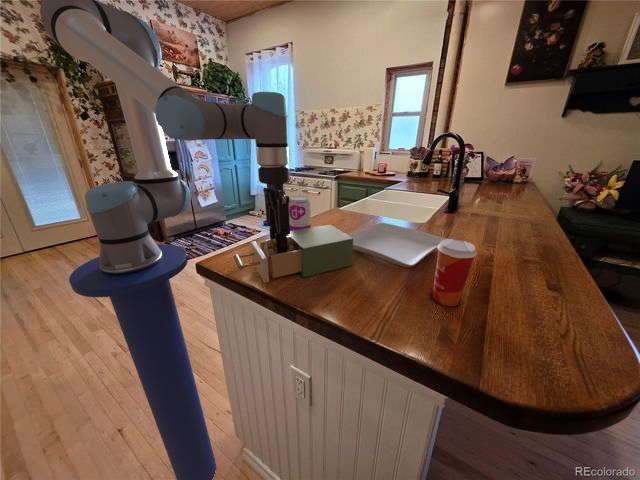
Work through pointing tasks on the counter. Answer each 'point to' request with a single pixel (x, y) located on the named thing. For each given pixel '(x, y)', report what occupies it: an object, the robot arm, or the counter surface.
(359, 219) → the counter surface
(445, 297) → the paper cup
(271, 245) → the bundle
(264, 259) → the drawer
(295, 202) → the supplement can
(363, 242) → the square plate
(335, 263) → the cabinet
